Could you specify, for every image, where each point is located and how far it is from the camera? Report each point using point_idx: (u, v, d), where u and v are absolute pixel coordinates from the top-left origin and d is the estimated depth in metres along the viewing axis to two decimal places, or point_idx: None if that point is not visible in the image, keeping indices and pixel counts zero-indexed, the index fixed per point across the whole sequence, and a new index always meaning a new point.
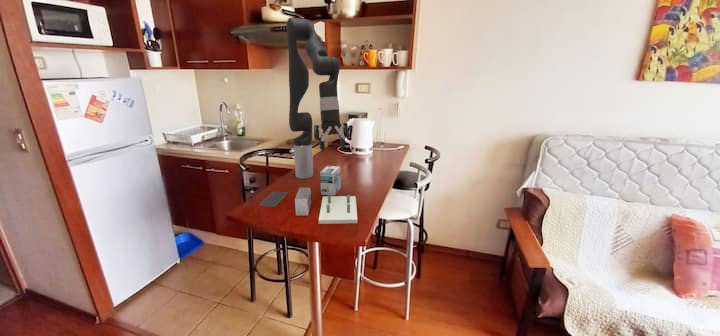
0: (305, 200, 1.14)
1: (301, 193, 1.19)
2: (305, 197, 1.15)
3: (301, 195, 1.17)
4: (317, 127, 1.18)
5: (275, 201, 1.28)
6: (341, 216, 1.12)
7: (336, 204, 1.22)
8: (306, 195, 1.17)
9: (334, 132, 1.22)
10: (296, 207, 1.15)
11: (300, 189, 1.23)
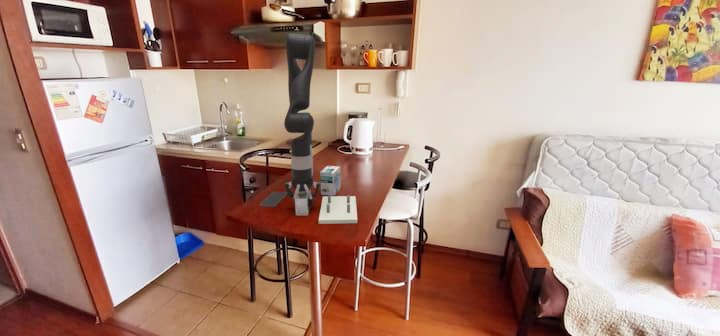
0: (305, 200, 1.14)
1: (301, 193, 1.19)
2: (305, 197, 1.15)
3: (301, 195, 1.17)
4: (286, 186, 1.17)
5: (275, 201, 1.28)
6: (341, 216, 1.12)
7: (336, 204, 1.22)
8: (306, 195, 1.17)
9: (302, 189, 1.18)
10: (296, 207, 1.15)
11: None
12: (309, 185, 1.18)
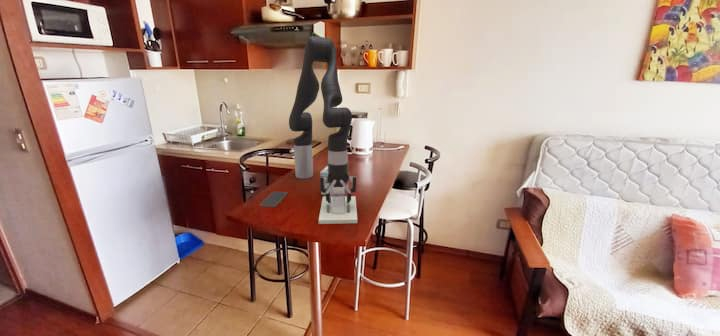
0: (342, 198, 1.12)
1: (337, 191, 1.17)
2: (342, 195, 1.14)
3: (338, 193, 1.15)
4: (321, 180, 1.15)
5: (275, 201, 1.28)
6: (341, 216, 1.12)
7: None
8: (342, 193, 1.15)
9: (339, 185, 1.16)
10: (333, 205, 1.13)
11: (335, 187, 1.21)
12: (345, 180, 1.16)
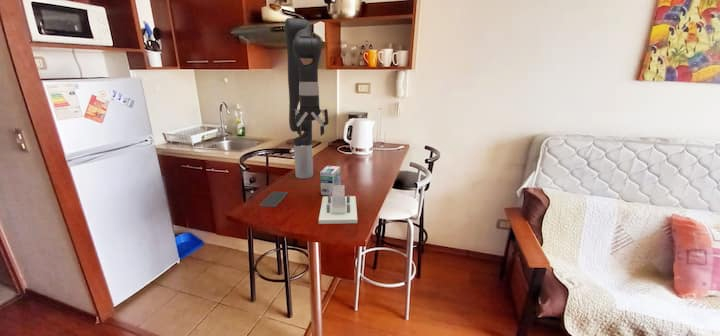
0: (342, 198, 1.12)
1: (337, 191, 1.17)
2: (342, 195, 1.14)
3: (338, 193, 1.15)
4: (293, 112, 1.18)
5: (275, 201, 1.28)
6: (341, 216, 1.12)
7: None
8: (342, 193, 1.15)
9: (312, 118, 1.19)
10: (333, 205, 1.13)
11: (335, 187, 1.21)
12: (316, 112, 1.18)
